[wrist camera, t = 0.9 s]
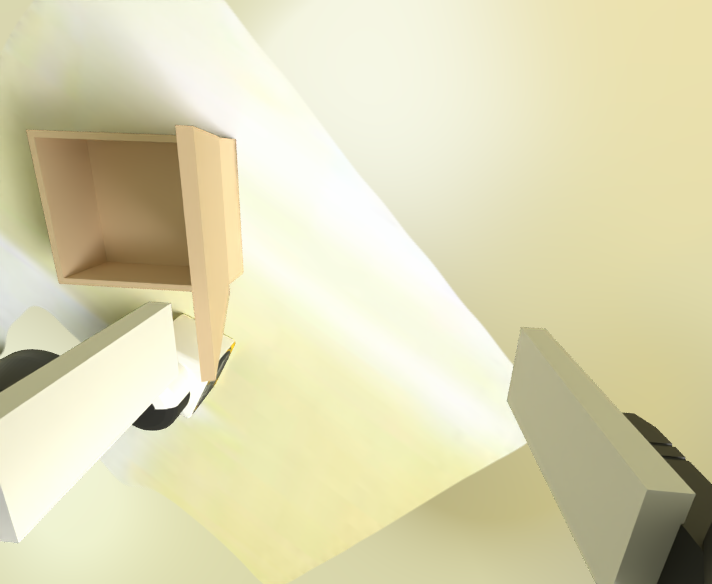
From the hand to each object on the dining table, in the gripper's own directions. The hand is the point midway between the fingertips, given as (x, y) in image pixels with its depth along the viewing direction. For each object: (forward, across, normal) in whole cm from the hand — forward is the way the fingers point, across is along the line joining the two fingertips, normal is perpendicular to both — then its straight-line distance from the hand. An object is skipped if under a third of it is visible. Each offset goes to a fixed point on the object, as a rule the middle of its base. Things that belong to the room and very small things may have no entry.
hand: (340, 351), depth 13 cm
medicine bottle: (+30, -20, -17) cm, 40 cm away
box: (+30, -22, 0) cm, 37 cm away
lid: (+16, -11, 0) cm, 19 cm away
